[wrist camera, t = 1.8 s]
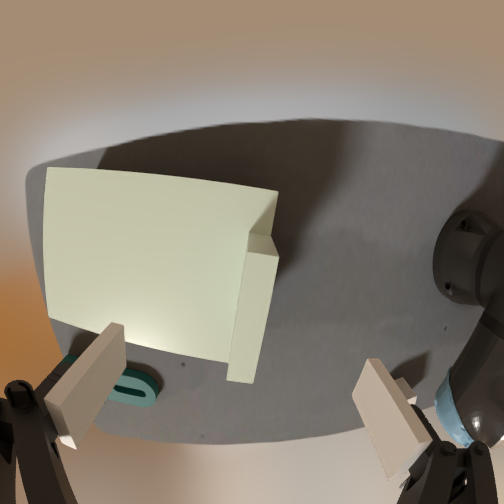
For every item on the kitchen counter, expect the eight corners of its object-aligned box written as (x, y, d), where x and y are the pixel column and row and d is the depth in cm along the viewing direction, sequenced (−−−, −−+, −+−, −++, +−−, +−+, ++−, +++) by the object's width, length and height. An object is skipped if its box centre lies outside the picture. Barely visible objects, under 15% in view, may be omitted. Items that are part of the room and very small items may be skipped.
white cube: (402, 376, 41) (416, 395, 35) (400, 398, 43) (412, 418, 37) (372, 387, 42) (384, 408, 36) (372, 408, 43) (382, 430, 37)
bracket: (76, 382, 42) (58, 405, 34) (68, 353, 41) (46, 376, 33) (161, 402, 42) (149, 432, 35) (156, 373, 41) (142, 403, 33)
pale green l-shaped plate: (275, 191, 27) (290, 192, 17) (246, 351, 31) (244, 417, 21) (61, 167, 26) (-3, 166, 16) (59, 308, 30) (10, 345, 20)
